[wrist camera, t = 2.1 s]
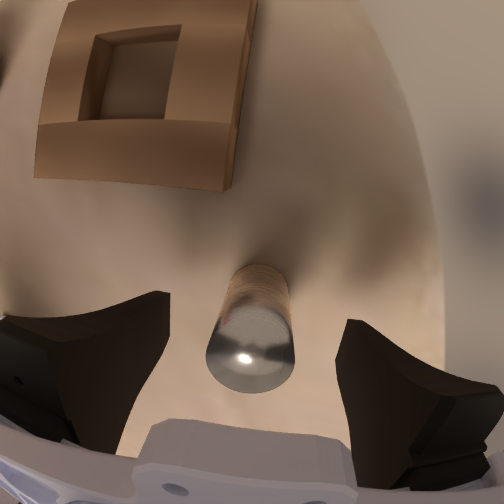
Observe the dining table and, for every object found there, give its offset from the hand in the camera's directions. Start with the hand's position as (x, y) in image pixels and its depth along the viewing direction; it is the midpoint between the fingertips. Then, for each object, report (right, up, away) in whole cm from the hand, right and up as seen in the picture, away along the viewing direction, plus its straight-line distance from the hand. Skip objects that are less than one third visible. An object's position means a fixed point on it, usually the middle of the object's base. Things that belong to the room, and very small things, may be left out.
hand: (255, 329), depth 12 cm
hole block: (-5, +12, +1) cm, 13 cm away
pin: (0, +1, +4) cm, 4 cm away
